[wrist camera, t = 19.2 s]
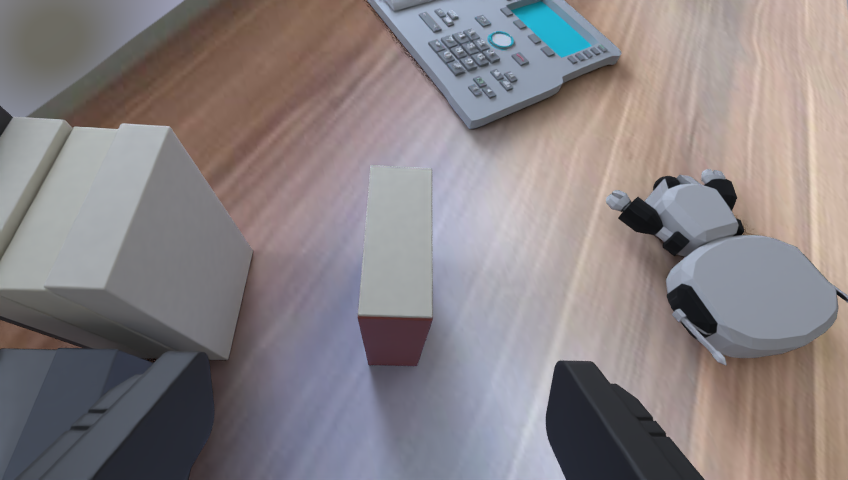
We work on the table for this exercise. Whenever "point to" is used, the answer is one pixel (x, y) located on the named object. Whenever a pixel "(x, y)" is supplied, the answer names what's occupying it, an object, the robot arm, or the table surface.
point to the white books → (115, 240)
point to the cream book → (397, 266)
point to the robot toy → (730, 271)
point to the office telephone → (496, 50)
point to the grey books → (52, 396)
